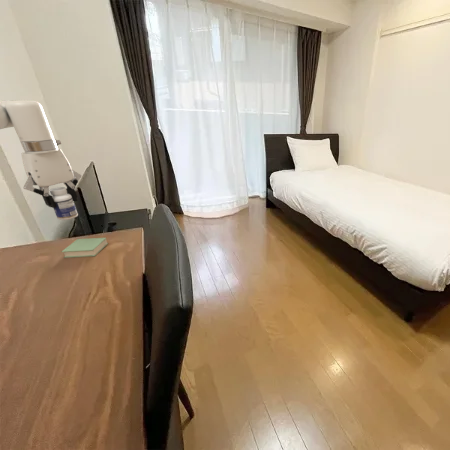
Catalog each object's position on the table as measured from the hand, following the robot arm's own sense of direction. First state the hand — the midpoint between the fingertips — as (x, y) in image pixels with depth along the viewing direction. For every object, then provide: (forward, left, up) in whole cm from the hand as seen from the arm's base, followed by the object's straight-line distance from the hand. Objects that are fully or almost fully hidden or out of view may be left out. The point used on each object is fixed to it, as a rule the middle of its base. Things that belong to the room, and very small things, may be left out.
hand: (63, 203), depth 88 cm
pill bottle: (0, 0, -5) cm, 5 cm away
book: (0, +2, -19) cm, 19 cm away
